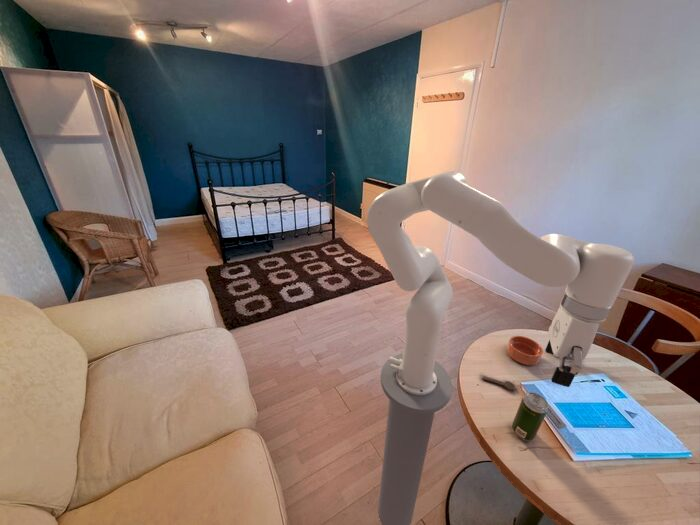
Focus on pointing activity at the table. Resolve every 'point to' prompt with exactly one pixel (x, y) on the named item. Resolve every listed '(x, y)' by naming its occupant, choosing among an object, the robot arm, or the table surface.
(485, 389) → the table surface
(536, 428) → the beer can
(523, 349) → the bowl
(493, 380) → the spoon
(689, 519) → the table surface
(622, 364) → the table surface
